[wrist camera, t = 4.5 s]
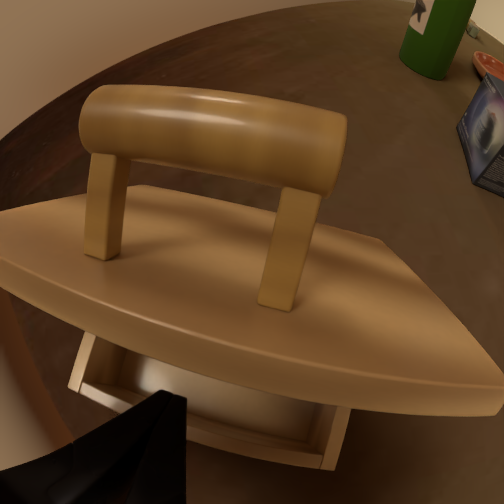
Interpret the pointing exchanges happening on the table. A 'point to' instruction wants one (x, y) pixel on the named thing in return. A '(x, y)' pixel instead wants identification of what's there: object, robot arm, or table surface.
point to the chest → (214, 407)
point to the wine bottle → (435, 35)
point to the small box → (485, 135)
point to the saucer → (488, 65)
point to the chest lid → (240, 261)
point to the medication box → (472, 28)
